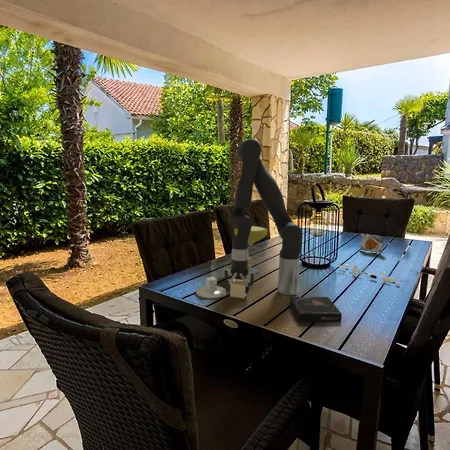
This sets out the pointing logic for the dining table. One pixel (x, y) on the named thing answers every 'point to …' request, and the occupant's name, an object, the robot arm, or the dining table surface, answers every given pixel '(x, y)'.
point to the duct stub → (211, 289)
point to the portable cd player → (315, 309)
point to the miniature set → (369, 273)
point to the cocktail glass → (255, 238)
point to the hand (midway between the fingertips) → (239, 292)
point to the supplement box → (248, 269)
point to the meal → (372, 243)
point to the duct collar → (238, 289)
